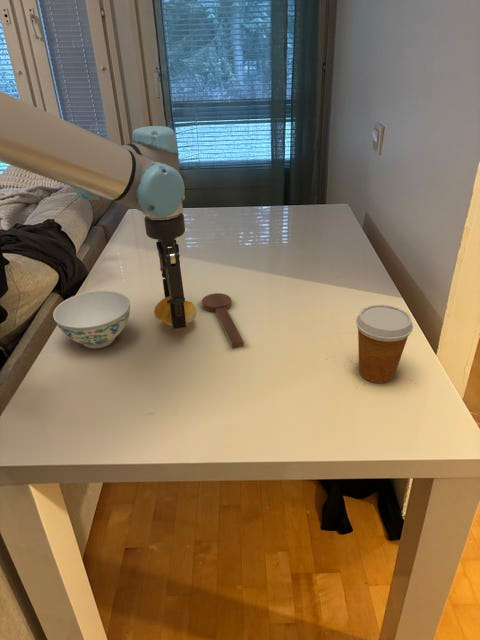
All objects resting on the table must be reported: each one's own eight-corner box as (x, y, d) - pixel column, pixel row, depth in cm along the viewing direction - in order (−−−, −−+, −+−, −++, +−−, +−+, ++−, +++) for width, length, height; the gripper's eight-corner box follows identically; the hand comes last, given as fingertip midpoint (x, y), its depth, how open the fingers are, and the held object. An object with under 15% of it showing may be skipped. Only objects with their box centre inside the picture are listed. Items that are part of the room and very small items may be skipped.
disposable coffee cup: (349, 385, 83) (355, 328, 77) (351, 355, 91) (357, 301, 84) (405, 392, 81) (416, 334, 74) (402, 360, 89) (412, 305, 82)
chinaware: (83, 318, 106) (76, 288, 102) (145, 324, 103) (141, 293, 99) (47, 356, 93) (37, 323, 89) (117, 364, 90) (110, 330, 86)
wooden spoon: (221, 350, 93) (221, 344, 92) (199, 301, 111) (199, 295, 110) (254, 344, 95) (253, 338, 94) (227, 296, 113) (226, 291, 112)
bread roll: (178, 331, 95) (176, 314, 93) (149, 318, 100) (146, 302, 98) (205, 314, 101) (204, 298, 99) (176, 302, 106) (174, 287, 103)
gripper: (194, 231, 80) (203, 339, 92) (174, 196, 98) (183, 290, 110) (150, 236, 79) (165, 346, 90) (138, 200, 97) (152, 295, 108)
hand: (175, 315), depth 100 cm, fingers closed on bread roll, 9 cm apart
